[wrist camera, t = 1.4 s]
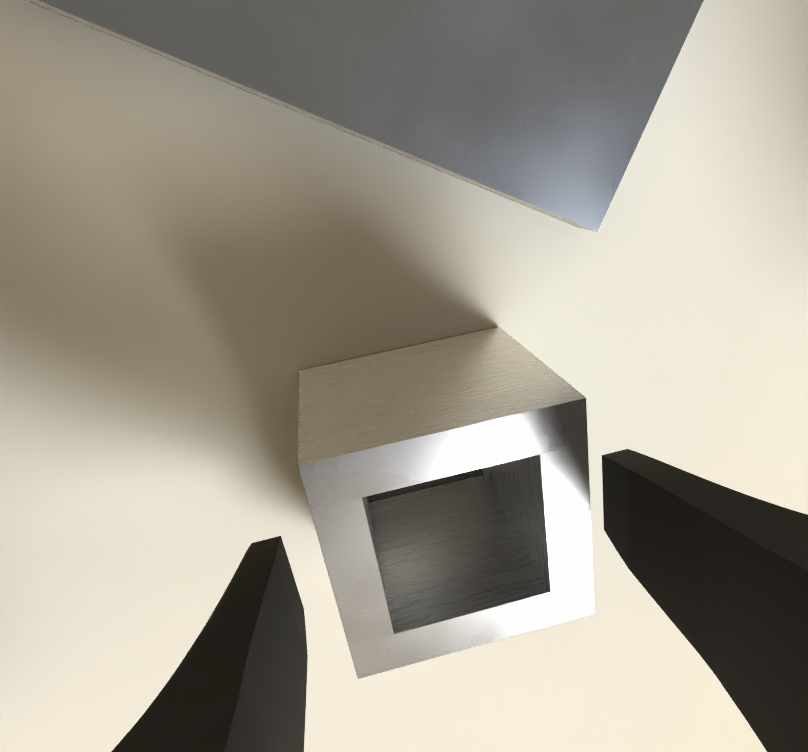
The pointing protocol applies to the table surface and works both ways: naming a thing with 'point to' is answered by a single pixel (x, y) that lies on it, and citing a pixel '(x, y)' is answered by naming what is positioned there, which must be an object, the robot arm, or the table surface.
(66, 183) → the table surface
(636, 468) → the robot arm
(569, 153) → the plate
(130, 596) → the table surface
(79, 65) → the table surface
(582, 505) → the collar
